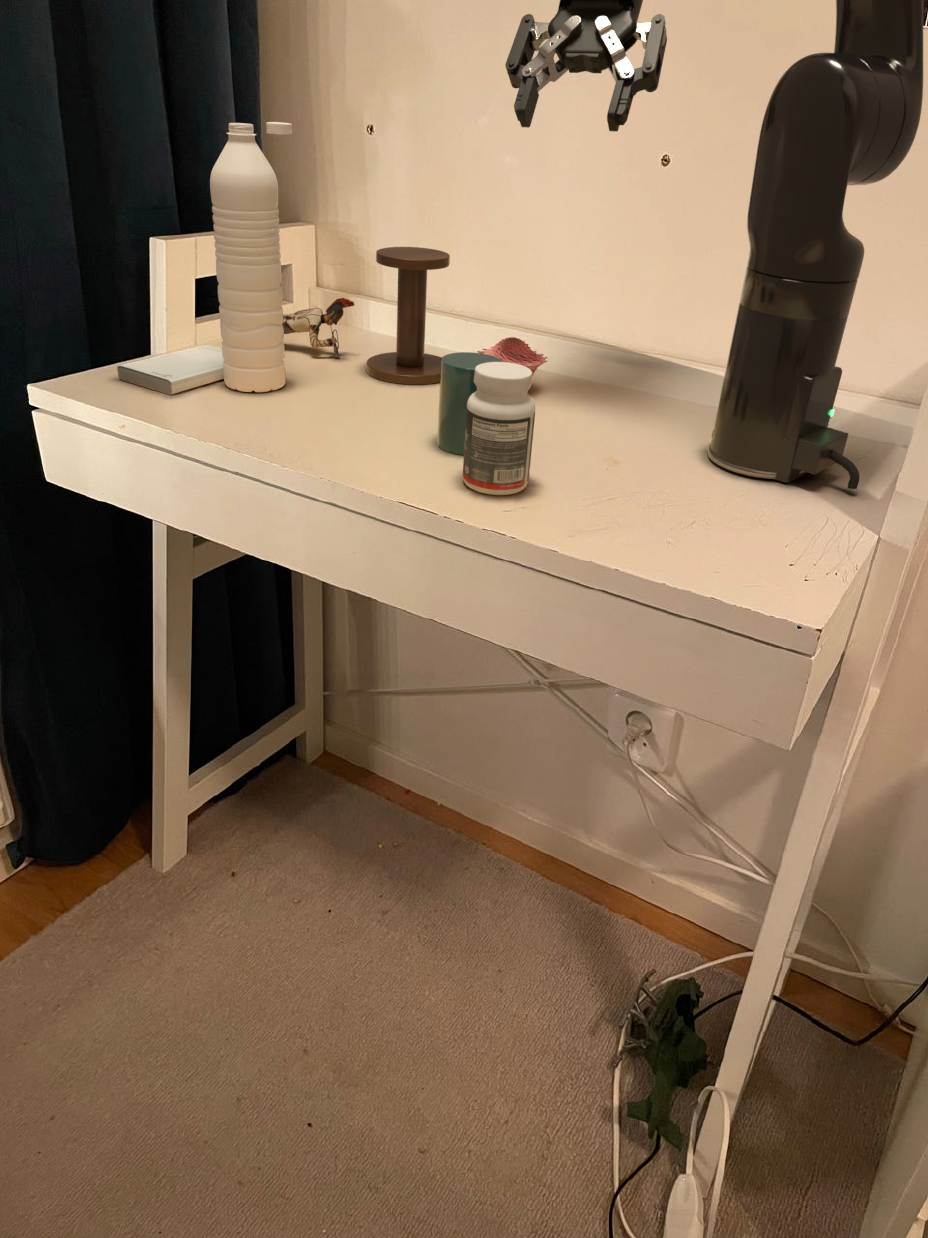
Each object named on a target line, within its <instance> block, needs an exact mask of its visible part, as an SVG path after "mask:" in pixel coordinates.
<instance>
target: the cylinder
mask: <svg viewBox="0 0 928 1238" xmlns="http://www.w3.org/2000/svg"><path fill="white" fill-rule="evenodd" d="M441 357H442V358H441V373H440V382H439V397H438V421H437V440H436V441H437V446H438V447H439V448H440V449H441V450H443V451H445V452H448V453H450V454H455V455H460V456H464V444H465V427H466V410H467V402H468V399H469V397H470V396H471V395H472V394H473V393H474V392H476V391H477V387H476V384H475V383H474V374H475V367H476V366H477V365H479V364H482V363H487V362H502V360H500V359H499V358H497V357H494V356H491V355H487V354H481V353H478V352H472V351H470V352H467V351H464V352H463V351H462V352H453V353H452V352H451V353H448V354H445V355H443V356H441Z"/></svg>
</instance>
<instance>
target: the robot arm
mask: <svg viewBox="0 0 928 1238" xmlns="http://www.w3.org/2000/svg"><path fill="white" fill-rule="evenodd" d="M643 2H644V0H559V2H558V9H557V12H556V14H555V15H554V16H553V18H552V19H551V20H550V21H549V22H543V21H542V22H539V21H535V17H534V15H533V14H531V13H527V14H524V15H523V16H522V17H521V20H520V22H519V25H518V28H517V30H516V33H515V37H514V39H513V42H512V44H511V47H510V50H509V53H508V56H507V58H506V61H505V64H504V65H505V70H506V72H507V76H508V79H509V81H510V84H511V85H510V86H511V87H512V88H513V89H518V90H517V93H516V97H515V101H514V104H513V108H514V109H513V110H514V113H515V116H516V119H517V121H518V122H519V124H520V127H521V128H527V129H529V128H531V125H532V122H533V118H534V114H535V111H536V107H537V104H538V100H539V97H540V94H539V92H540V91H541V90H543V88H545V86H547V85H548V84H549V83H551V82H552V83H555V82H557V81H558V80H559V79H560V78H561V77H562V76H563V75H564V74H566V73H567V72H568V73H569V74H570V73H571V74H579V73H584V72H587V73H590V74H602V72H603V71H606V70H607V69H608V71H609V72H610V75H611V77H612V78H613V80H614V82H615V84H614V88H613V91H612V94H611V99H610V103H609V106H608V110H607V114H606V122H607V126H608V131H609V132H618V131H619V129H620V126H624V125H625V124H626V123H627V122H628V118H629V115H630V111H631V107H632V104H633V100H634V98H635V96H636V95H637V93H639V92H642V91H645V92H647V93H653V92H655V91H657V89H658V87H659V83H660V77H661V73H662V68H663V63H664V57H665V53H666V48H667V42H668V36H667V24H666V17H665V15H664V14H661V13H657V14H655V15H654V16H653V17H652V18H651V21H650V22H638V21H639V17H640V13H641V9H642V6H643ZM834 33H835V34H834V47H833V48H834V49H833V52H815V53H812V54H808V55H806V56H804V57H802V58H800V59H798V60H797V61H795V62H793V64H791V65H790V67H788V68H787V70H785V72H784V73H783V75H781V77H780V79H779V80H778V81H777V83H776V85H775V87H774V88H773V90H772V93H771V95H770V97H769V99H768V102H767V105H766V107H765V111H764V114H763V117H762V122H761V126H760V131H759V136H758V141H757V148H756V153H755V154H756V155H755V161H754V166H753V167H754V169H753V175H752V180H751V181H752V182H751V188H750V195H749V200H748V209H747V216H746V229H747V237H748V243H749V253H748V258H747V264H746V269H745V274H744V278H743V284H742V288H741V293H740V298H739V302H738V307H737V313H736V317H735V321H734V328H733V332H732V336H731V342H730V347H729V351H728V357H727V361H726V365H725V366H726V367H725V370H724V371H725V372H724V377H723V381H722V386H721V391H720V396H719V401H718V405H717V411H716V416H715V422H714V425H713V426H714V427H713V430H712V433H711V441H710V444H709V445H708V449H707V456H708V458H709V459H710V460H711V461H712V462H713V463H714V464H716V465H717V466H719V467H721V468H723V469H725V470H728V471H730V472H733V473H736V474H740V475H743V476H748V477H753V478H758V479H767V480H776V481H779V482H782V483H785V484H787V483H790V482H792V481H794V480H796V479H798V478H800V477H803V476H805V475H806V474H808V473H809V474H810V475H817V474H818V473H821V472H823V471H824V470H826V469H829V468H831V467H832V466H835V465H837V464H838V465H839V466H840V467H842V468H843V469H845V471H847V473H848V475H849V480H848V482H847V489H849V490H857V489H858V485H859V483H860V471H859V470H858V467H857V466H856V465H855V463H854V462H853V461H852V460H850V459H849V458H848V457H846V456H844V451H845V448H846V445H847V440H848V438H849V433H848V432H845V431H842V430H838V429H835V428H831V427H829V424H830V420H831V417H833V416H834V414H835V409H833V408H834V404H835V402H836V397H837V394H838V390H839V387H840V382H841V379H842V375H843V369H842V368H841V367H840V366H836V364H837V360H838V358H839V357H838V356H839V353H840V350H841V345H842V341H843V337H844V334H845V329H846V326H847V322H848V318H849V315H850V310H851V307H852V303H853V298H854V295H855V291H856V288H857V284H858V279H859V277H860V274H861V269H862V266H863V261H864V258H865V246H864V244H863V242H862V241H861V240H860V239H859V238H858V237H856V236H855V235H853V234H852V233H851V232H849V230H848V229H847V227H846V225H845V221H844V217H843V215H844V214H843V213H844V207H845V199H846V194H847V189H848V187H849V186H867V185H873V184H876V183H878V182H881V181H882V180H885V179H886V178H888V177H889V176H890V175H891V174H893V173H894V172H895V170H897V169H898V168H899V166H900V165H901V164H902V163H903V161H904V160H905V159H906V157H907V155H908V154H909V152H910V150H911V148H912V146H913V144H914V141H915V139H916V135H917V132H918V129H919V126H920V122H921V116H922V108H923V97H924V0H835V32H834ZM544 41H545V42H544ZM637 41H641V46H642V48H643V49H644V50H645V51H644V54H643V59H642V65H641V66H640V67H636V68H634V66H632V63H631V62H630V60H629V58H628V56H627V54H626V53H627V52H628V51H629V50H630V49H631V48H632V47H633V46H635V45H636V43H637ZM543 42H544V43H543ZM535 52H537V54H536V56H534V55H535ZM555 55H556V56H557V58H558V60H556V62H555V58H554V57H555Z"/></svg>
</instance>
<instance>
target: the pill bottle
mask: <svg viewBox="0 0 928 1238" xmlns="http://www.w3.org/2000/svg"><path fill="white" fill-rule="evenodd" d="M532 381H533V376H532V371H531V370H530V369H529V368H527V367H525V366H522V365H519V364H515V363H508V362H487V363H482V364H479V365H477V366H476V367H475V374H474V383H475V384H476V387H477V391H476V392H474V393H473V394H472V395H471V396H470V397H469V399H468V402H467V410H466V427H465V444H464V455H463V461H462V462H463V464H462V479H463V482H464V484H465V485H466V486H467V487H468V488H470V489H472V490H473V491H476V492H478V493H481V494H485V495H490V496H507V495H513V494H517V493H519V492H522V491H524V489H525V488H527V486H528V484H529V481H530V472H531V471H530V470H531V463H532V462H531V460H532V450H533V441H534V428H535V418H536V403H535V401H534V398H533V397H532V396H531V395H530V394H529V393H528V392H529V391H530V389H531V387H532Z"/></svg>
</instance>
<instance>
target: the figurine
mask: <svg viewBox="0 0 928 1238" xmlns="http://www.w3.org/2000/svg"><path fill="white" fill-rule="evenodd" d="M350 307H355V302H354V301H352V300H350V299H348V298H345V297H340V298H336V299H335V300H334V301H333V302H331V304H330V305H329V306H328V307H327V308H326V310H325V313H324V314H323V309H322V308H320V307H313V308H305V309H300V310H297V311H295V312H294V313H285V314H284V313H283V323H282V326H283V329H284V335H289V334H295V333H297V334H299V333H308V334H309V343H310V346H311V348H326V347H328V348H329V347H330V348H332V347H333V353H334V358H335V359H336V358H337V359H338V358H340V357H341V355H340V352H339V350H340V349H339V348H340V344H339V343H340V342H339V334H338V331H337V329H333V328H330V331H331V337H330V338H326V339H319V334H320V327H321V326H322V325H323V324H326V325H327V326H329V327H332V326H333V324H334V325H335V326H337V325H338V322H339V321H340V320H341V319H342V317H343V316H344V309H345V308H346V309H347V308H350ZM335 332H336V337H335V335H334V334H335Z"/></svg>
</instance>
